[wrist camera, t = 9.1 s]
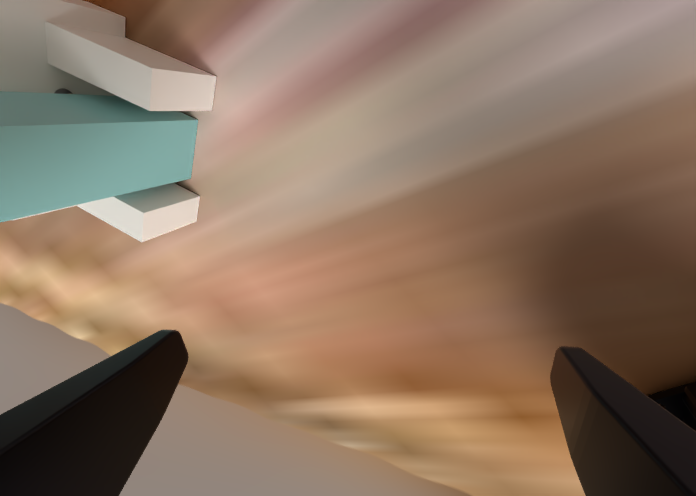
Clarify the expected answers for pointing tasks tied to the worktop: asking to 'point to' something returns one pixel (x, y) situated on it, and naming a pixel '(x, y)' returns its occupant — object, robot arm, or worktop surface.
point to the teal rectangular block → (85, 150)
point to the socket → (103, 90)
